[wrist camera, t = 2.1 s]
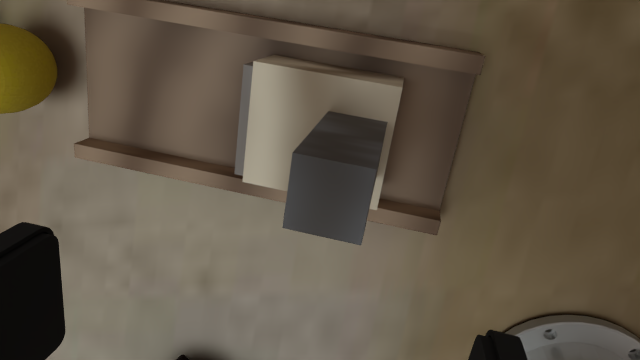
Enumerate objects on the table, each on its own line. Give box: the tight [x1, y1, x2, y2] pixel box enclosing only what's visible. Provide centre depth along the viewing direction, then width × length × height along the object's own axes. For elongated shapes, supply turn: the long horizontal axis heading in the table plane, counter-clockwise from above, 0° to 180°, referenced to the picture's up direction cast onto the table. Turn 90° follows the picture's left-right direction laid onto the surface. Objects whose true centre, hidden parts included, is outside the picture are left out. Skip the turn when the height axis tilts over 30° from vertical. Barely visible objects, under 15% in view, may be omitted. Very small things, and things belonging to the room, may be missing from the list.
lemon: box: [0, 24, 57, 114], centre depth 29 cm, size 6×6×8 cm
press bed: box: [67, 0, 485, 235], centre depth 30 cm, size 25×11×3 cm, turn 82°
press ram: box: [234, 55, 404, 245], centre depth 24 cm, size 9×7×12 cm
